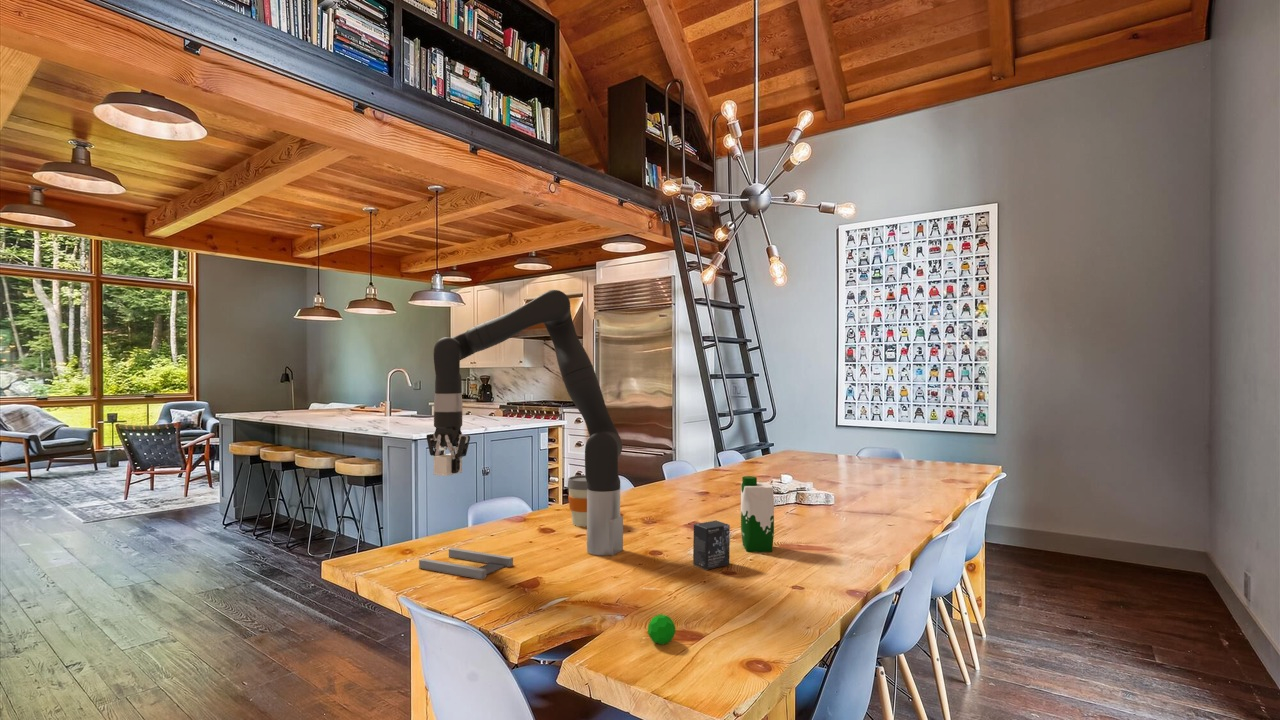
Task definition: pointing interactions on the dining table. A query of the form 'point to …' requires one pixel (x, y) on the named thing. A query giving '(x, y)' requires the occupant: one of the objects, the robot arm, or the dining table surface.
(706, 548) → the box
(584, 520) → the reusable coffee cup
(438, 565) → the channel
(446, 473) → the block
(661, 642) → the polyhedron
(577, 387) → the robot arm
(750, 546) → the milk carton
